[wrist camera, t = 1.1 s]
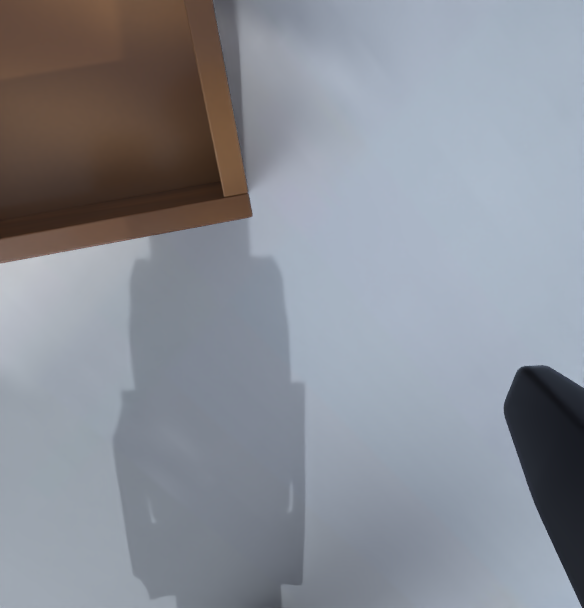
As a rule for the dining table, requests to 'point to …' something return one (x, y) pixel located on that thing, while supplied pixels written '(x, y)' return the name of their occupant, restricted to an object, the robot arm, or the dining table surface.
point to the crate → (113, 124)
